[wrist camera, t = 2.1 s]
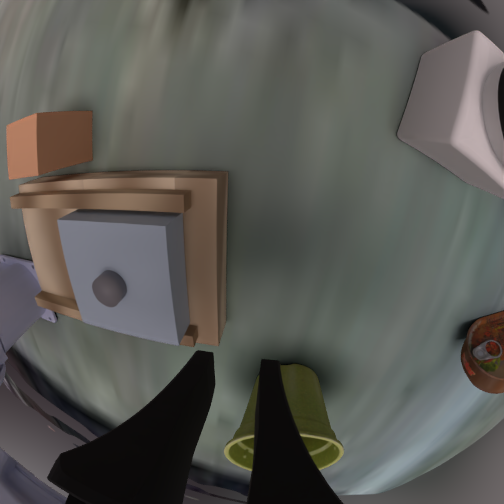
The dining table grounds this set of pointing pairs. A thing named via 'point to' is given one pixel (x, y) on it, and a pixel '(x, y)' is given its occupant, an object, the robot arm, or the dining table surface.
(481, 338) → the tin
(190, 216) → the puzzle board
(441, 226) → the dining table surface
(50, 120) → the terracotta block
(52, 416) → the dining table surface
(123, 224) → the slate cover
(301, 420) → the plant pot
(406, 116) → the medicine bottle
